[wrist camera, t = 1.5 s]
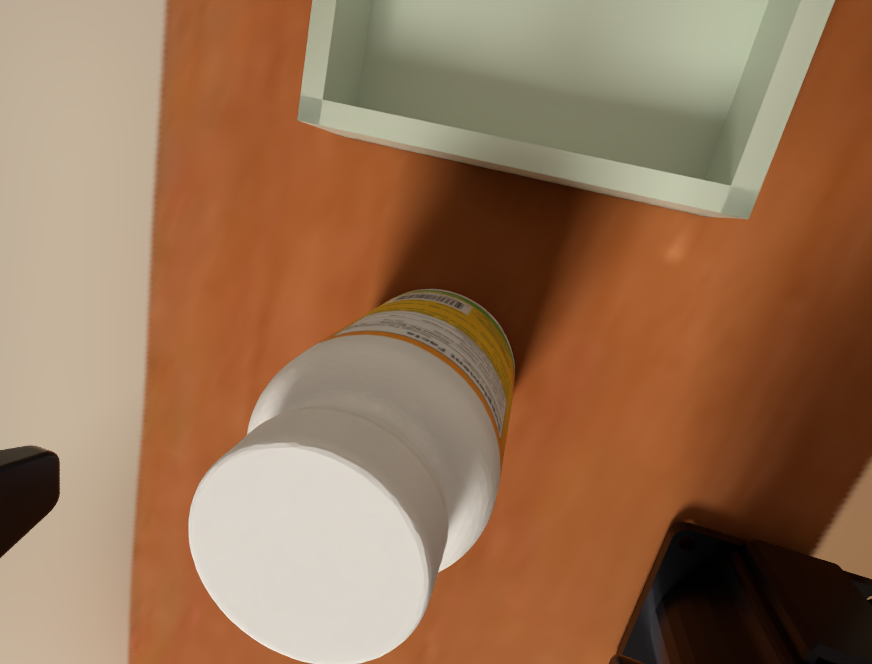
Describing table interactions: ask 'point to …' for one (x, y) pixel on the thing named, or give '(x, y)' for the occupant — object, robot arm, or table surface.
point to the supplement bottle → (359, 480)
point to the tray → (572, 88)
